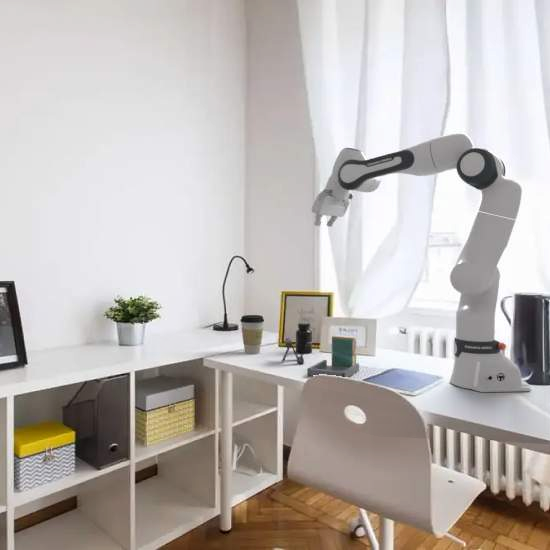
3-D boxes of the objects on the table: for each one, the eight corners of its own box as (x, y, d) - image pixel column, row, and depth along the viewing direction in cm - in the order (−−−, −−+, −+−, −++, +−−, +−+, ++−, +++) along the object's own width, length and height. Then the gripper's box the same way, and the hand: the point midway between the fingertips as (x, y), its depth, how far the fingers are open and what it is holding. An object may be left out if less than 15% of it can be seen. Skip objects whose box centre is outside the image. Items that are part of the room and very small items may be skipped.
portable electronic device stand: (303, 364, 179) (303, 342, 178) (282, 364, 179) (282, 342, 178) (302, 359, 187) (302, 338, 187) (281, 359, 187) (281, 338, 187)
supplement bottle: (311, 354, 196) (311, 324, 196) (294, 353, 198) (294, 324, 197) (313, 351, 203) (313, 322, 203) (297, 350, 205) (296, 322, 204)
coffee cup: (268, 353, 198) (268, 316, 198) (247, 356, 193) (246, 318, 193) (257, 349, 207) (257, 314, 206) (236, 351, 202) (236, 315, 201)
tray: (359, 370, 169) (359, 363, 169) (344, 380, 156) (344, 373, 156) (324, 366, 175) (324, 359, 175) (307, 376, 162) (307, 368, 162)
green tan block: (335, 365, 178) (335, 335, 178) (356, 367, 174) (356, 336, 174) (331, 367, 175) (331, 336, 174) (352, 369, 171) (353, 338, 171)
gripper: (330, 191, 169) (315, 228, 173) (355, 196, 186) (342, 229, 190) (315, 185, 172) (301, 221, 176) (342, 190, 189) (329, 223, 193)
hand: (322, 225), depth 183 cm, fingers open, 8 cm apart
